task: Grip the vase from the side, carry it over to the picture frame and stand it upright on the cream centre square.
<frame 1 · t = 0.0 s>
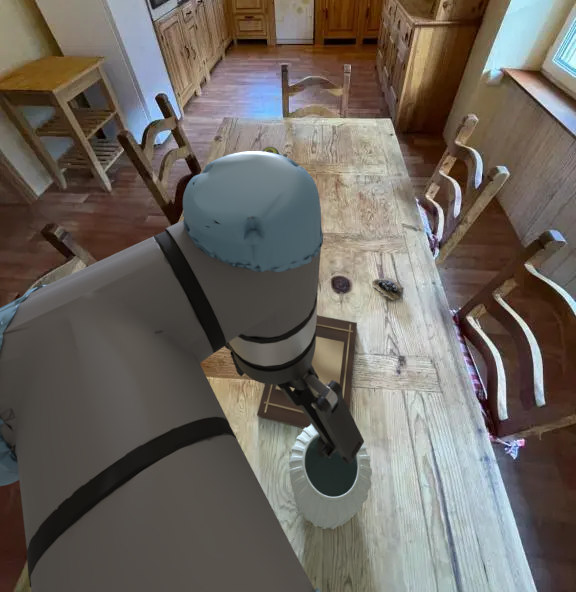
hand: (283, 403, 43), 31 cm above the table, tool pointing down, fingers open, 13 cm apart
brown flat lumpy piece: (386, 289, 90), on the table
vase: (324, 486, 61), on the table
avocado toast plate: (263, 166, 131), on the table
picture frame: (311, 367, 76), on the table
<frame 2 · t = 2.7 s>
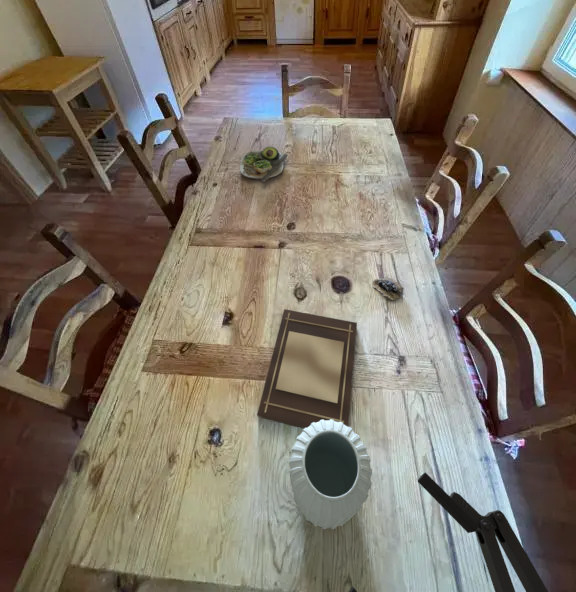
hand: (388, 528, 39), 25 cm above the table, tool horizontal, fingers open, 13 cm apart
nothing on the table moved.
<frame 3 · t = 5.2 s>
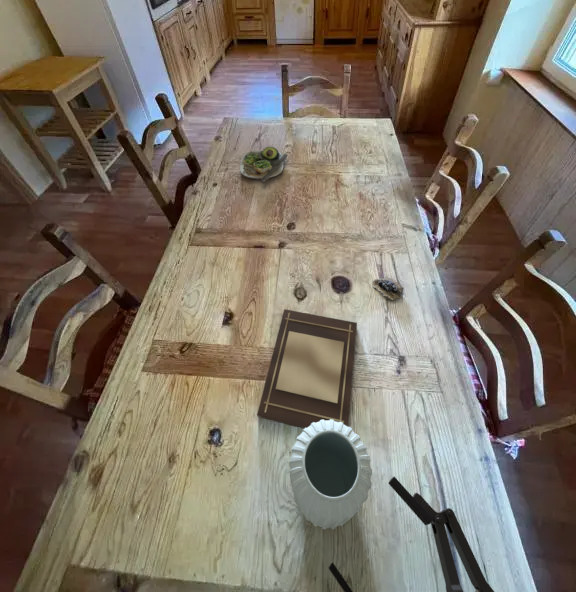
hand: (362, 519, 49), 12 cm above the table, tool horizontal, fingers open, 13 cm apart
nothing on the table moved.
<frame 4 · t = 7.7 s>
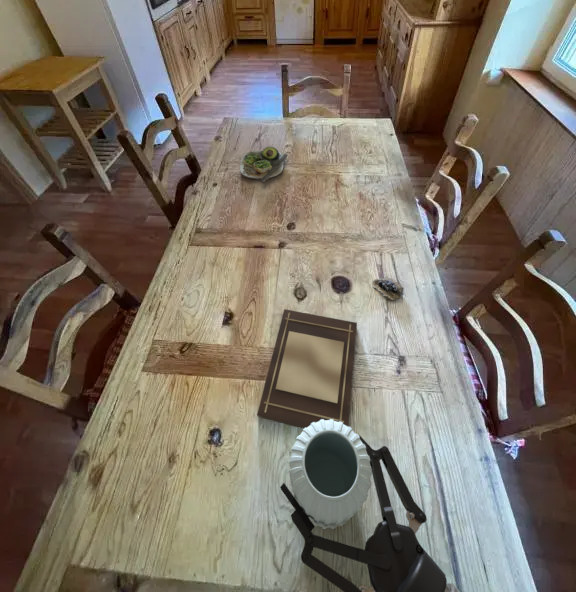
hand: (310, 453, 55), 12 cm above the table, tool horizontal, fingers closed on vase, 11 cm apart
vase: (324, 486, 61), on the table, touching gripper
everything else where it was.
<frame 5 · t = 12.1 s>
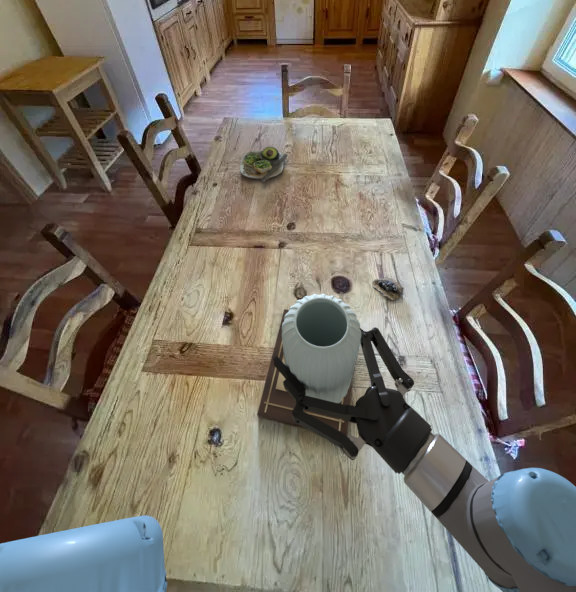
hand: (303, 335, 57), 24 cm above the table, tool horizontal, fingers closed on vase, 11 cm apart
vase: (317, 379, 63), point 12 cm above the table, touching gripper
everything else where it was.
when the fingers open (14 cm above the table, at t = 16.4 s): vase stays where it is, resting on picture frame.
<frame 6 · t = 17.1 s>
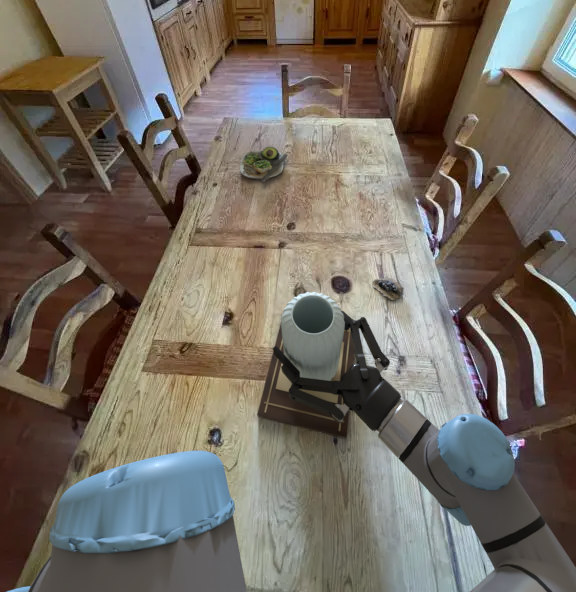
hand: (300, 326, 68), 15 cm above the table, tool horizontal, fingers open, 13 cm apart
vase: (311, 364, 75), point 2 cm above the table, touching picture frame
everything else where it was.
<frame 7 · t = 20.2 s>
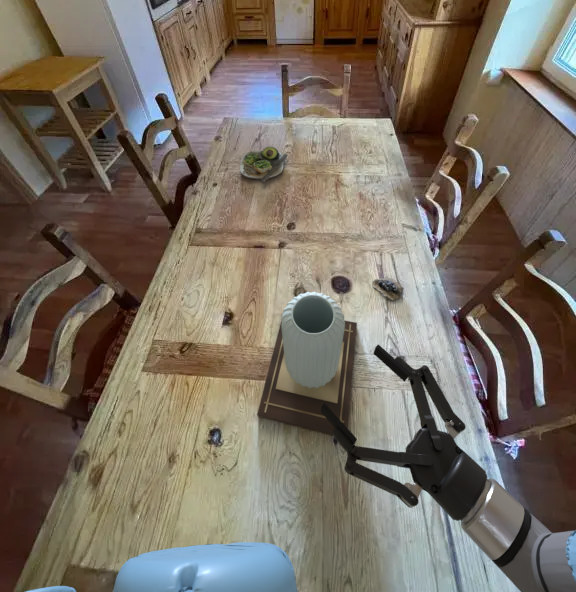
hand: (350, 376, 57), 19 cm above the table, tool horizontal, fingers open, 13 cm apart
nothing on the table moved.
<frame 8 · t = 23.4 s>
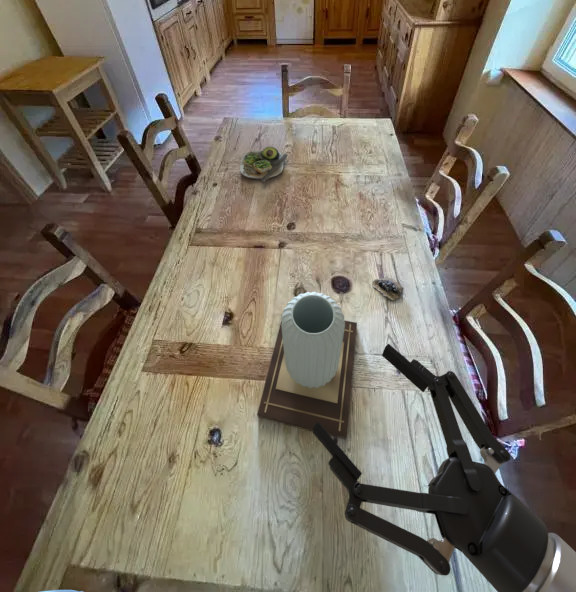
hand: (352, 385, 44), 32 cm above the table, tool horizontal, fingers open, 13 cm apart
nothing on the table moved.
at the end: vase 0.0 cm off-centre on the picture frame, point 1.5 cm above the picture frame's base; vase tilted 0°; the gripper is holding nothing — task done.
